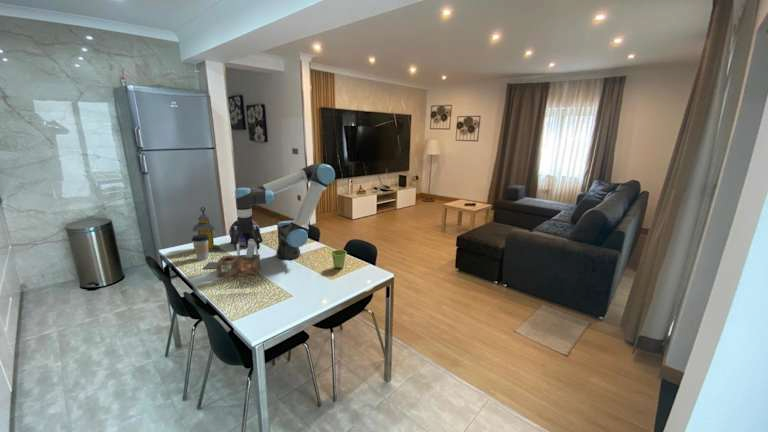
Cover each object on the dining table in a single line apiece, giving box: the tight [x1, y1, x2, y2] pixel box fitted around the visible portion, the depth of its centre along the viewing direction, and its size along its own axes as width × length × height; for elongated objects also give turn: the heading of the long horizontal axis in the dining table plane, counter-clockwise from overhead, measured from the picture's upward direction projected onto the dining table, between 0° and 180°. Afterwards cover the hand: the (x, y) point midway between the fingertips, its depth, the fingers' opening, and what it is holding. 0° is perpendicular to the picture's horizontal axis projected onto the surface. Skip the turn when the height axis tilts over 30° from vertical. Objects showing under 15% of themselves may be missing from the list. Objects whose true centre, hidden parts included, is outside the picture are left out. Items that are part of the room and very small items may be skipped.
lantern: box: [192, 206, 220, 255], centre depth 204 cm, size 14×14×30 cm
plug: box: [245, 239, 256, 260], centre depth 172 cm, size 4×4×16 cm
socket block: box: [215, 253, 262, 278], centre depth 172 cm, size 20×12×8 cm, turn 101°
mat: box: [202, 261, 218, 270], centre depth 181 cm, size 10×10×1 cm
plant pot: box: [330, 249, 348, 268], centre depth 184 cm, size 9×9×9 cm
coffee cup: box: [191, 234, 209, 262], centre depth 190 cm, size 9×9×15 cm
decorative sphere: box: [228, 219, 261, 247], centre depth 216 cm, size 19×20×20 cm
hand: (247, 254), depth 172 cm, fingers open, 9 cm apart
